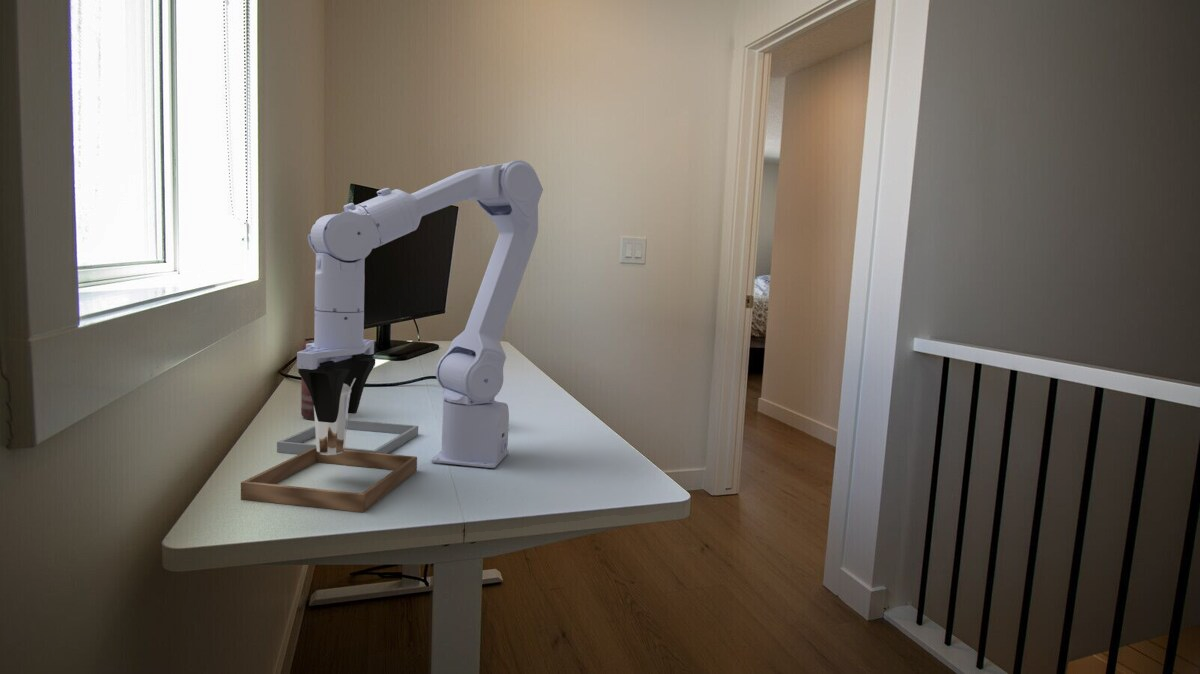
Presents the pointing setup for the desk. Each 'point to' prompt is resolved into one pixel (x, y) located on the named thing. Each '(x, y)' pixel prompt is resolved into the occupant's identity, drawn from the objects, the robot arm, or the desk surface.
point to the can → (306, 393)
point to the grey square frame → (405, 431)
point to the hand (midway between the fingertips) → (338, 417)
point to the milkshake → (334, 427)
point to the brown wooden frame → (268, 491)
